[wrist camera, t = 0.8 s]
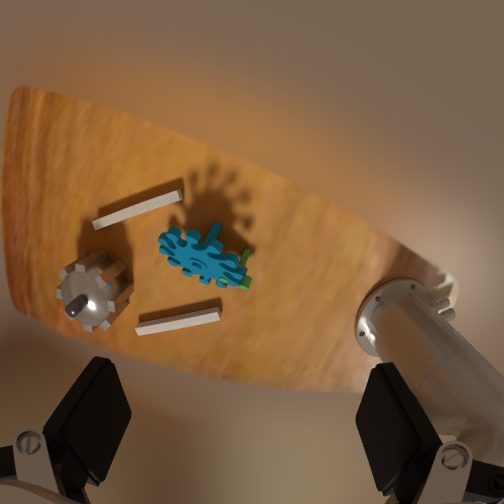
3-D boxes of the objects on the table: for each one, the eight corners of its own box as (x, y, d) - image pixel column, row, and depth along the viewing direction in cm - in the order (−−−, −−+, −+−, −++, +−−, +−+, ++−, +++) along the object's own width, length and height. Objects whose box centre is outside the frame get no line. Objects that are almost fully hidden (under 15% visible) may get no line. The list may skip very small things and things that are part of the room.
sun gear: (118, 242, 33) (81, 265, 24) (142, 304, 35) (116, 340, 27) (71, 259, 34) (32, 282, 25) (94, 314, 36) (64, 347, 27)
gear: (147, 257, 32) (165, 224, 24) (170, 219, 35) (195, 178, 26) (225, 302, 35) (267, 286, 27) (241, 263, 38) (284, 238, 30)
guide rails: (180, 189, 31) (177, 190, 30) (221, 314, 36) (220, 320, 34) (97, 219, 32) (92, 221, 31) (142, 330, 36) (138, 335, 35)
